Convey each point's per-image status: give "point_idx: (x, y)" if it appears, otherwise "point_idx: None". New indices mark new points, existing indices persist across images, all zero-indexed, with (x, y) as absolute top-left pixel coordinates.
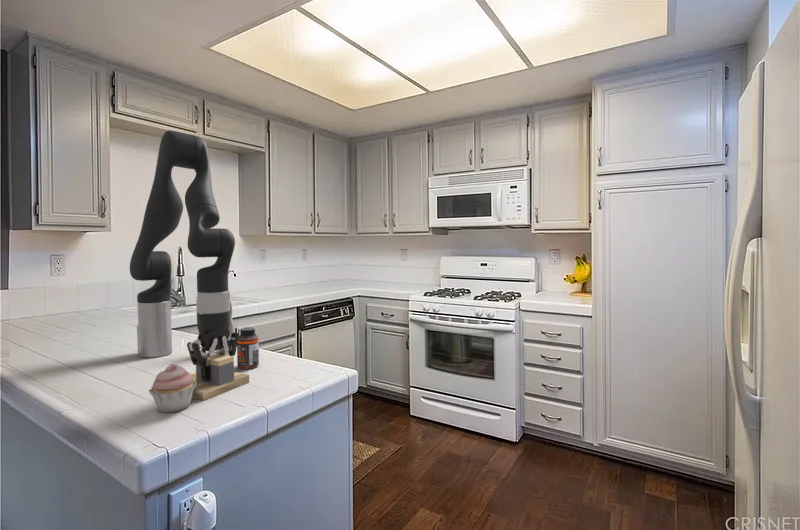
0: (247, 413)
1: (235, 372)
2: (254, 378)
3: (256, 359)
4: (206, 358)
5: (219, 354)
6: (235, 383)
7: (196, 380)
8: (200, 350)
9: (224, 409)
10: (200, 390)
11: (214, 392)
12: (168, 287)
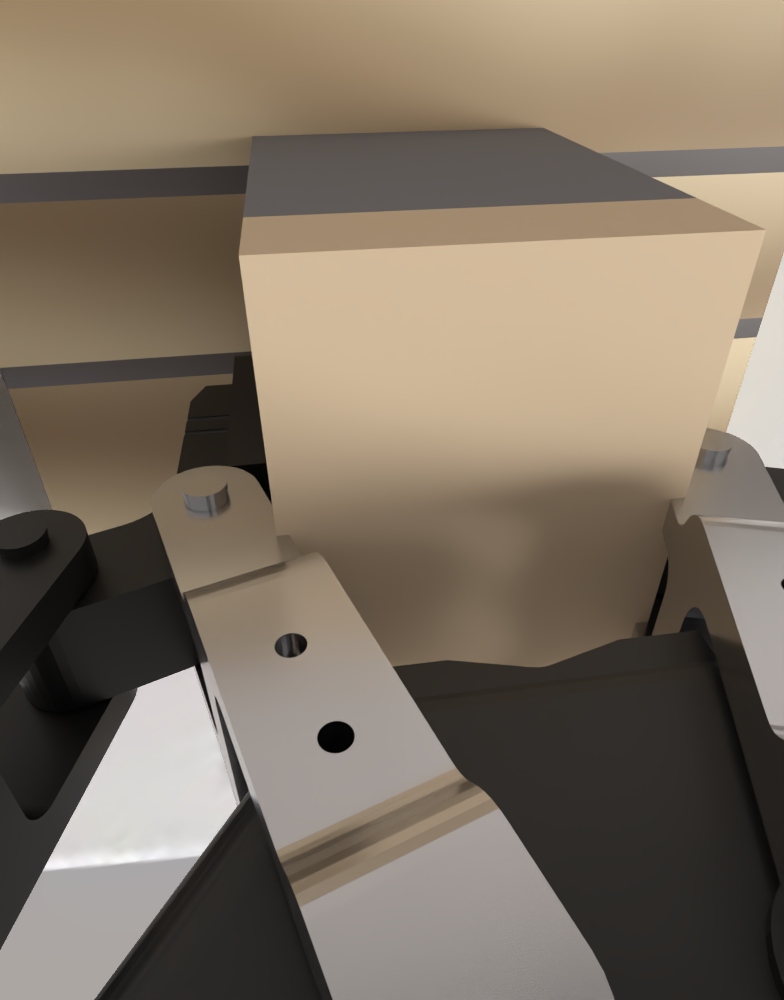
0: (178, 840)
1: (751, 323)
2: (780, 417)
3: None
4: (212, 718)
5: (661, 528)
6: None
7: (252, 139)
8: (212, 660)
9: (118, 738)
10: (81, 515)
11: None
12: None
